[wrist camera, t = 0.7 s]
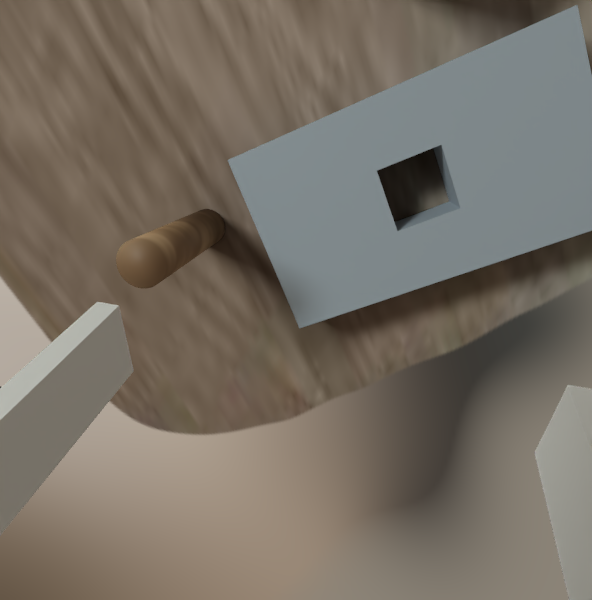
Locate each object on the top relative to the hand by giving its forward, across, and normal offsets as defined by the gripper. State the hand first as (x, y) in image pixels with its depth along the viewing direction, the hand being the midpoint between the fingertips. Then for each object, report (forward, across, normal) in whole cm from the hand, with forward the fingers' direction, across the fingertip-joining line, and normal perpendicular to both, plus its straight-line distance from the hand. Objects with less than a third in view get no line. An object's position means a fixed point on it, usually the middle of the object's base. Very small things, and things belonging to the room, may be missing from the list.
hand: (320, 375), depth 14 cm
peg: (+23, -14, -7) cm, 28 cm away
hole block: (+26, +2, -2) cm, 26 cm away
